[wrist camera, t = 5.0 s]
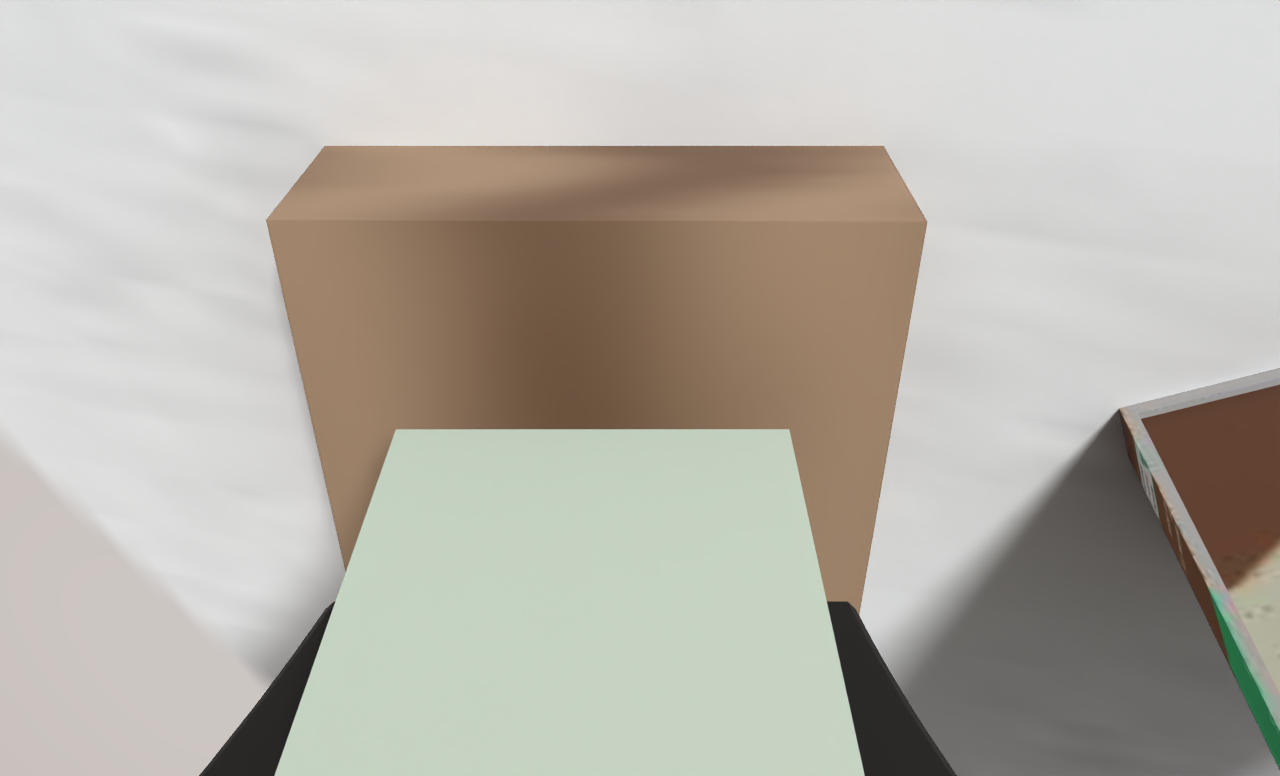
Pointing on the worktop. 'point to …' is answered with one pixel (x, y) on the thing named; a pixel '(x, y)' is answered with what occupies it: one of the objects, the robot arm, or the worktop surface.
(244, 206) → the worktop surface
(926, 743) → the robot arm
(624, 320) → the walnut block
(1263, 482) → the food container
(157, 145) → the worktop surface
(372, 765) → the sage cube
